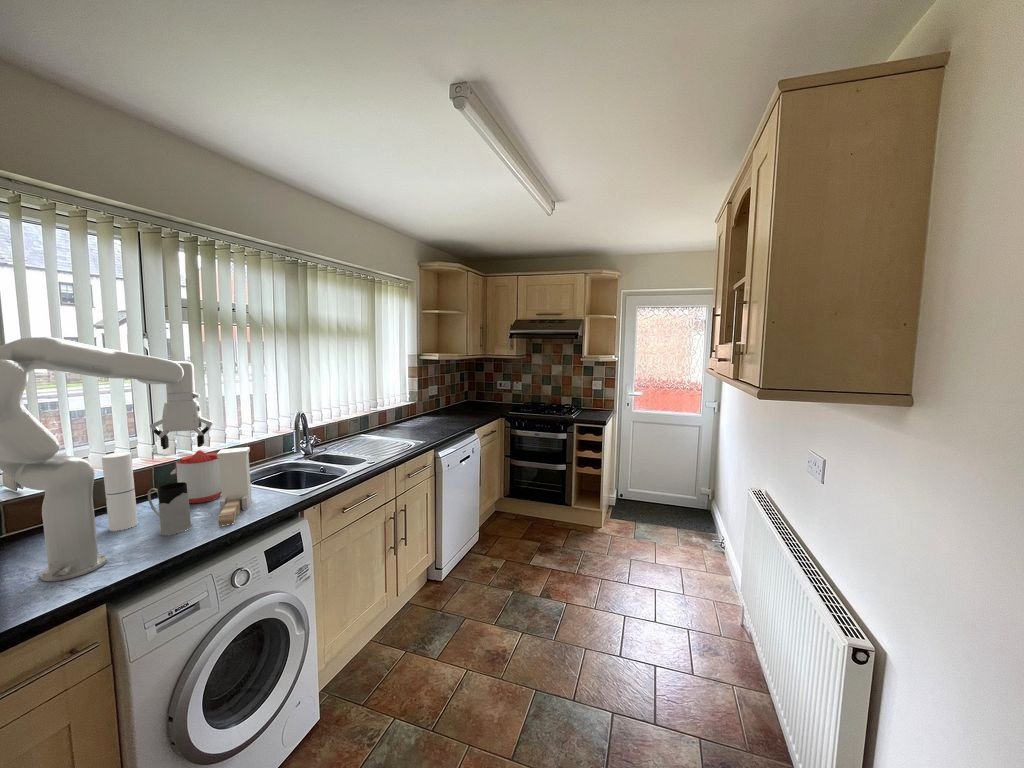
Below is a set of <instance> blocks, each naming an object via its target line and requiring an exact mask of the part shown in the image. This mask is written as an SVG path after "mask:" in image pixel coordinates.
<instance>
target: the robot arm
mask: <svg viewBox="0 0 1024 768" xmlns="http://www.w3.org/2000/svg"><path fill="white" fill-rule="evenodd" d="M34 370H48V371H49V370H50V371H55V372H56V371H57V372H63V373H69V374H77V375H82V376H89V377H96V378H105V379H124V380H125V379H126V380H127V379H130V380H131V379H132V380H137V381H138V382H139V383H142V384H146V385H165V389H166V391H165V392H166V402H164V404H163V409H162V419H160V420H158V421H156V422H153V423H151V424H150V425H149V428H150V429H151V430H152V432H153V433H154V434H155V435H156V436H158V438H160V447H161V448H162V450H166V449H168V448H170V443H169V436H168V434H169V433H170V432H173V433H174V432H189V431H194V432H195V433H196V434H197V436H196V444H197V448H201V447H203V445H204V444H205V435H206V433H207V432H208V431H210V429H211V428H212V425H213V424H214V422H213V421H212V420H209V419H207V418H204V417H202V411H201V407H200V403H199V401H198V400H197V399H199V398H200V397H201V395H200V394H199V393H196V391H195V389H196V388H195V367H194V364H193V363H192V362H191V361H174V360H169V359H166V358H161V357H156V356H152V355H151V356H150V355H147V354H146V355H145V354H139V353H134V352H129V351H128V352H127V351H123V350H119V349H118V350H117V349H111V348H105V347H101V346H97V345H92V344H85V343H82V342H76V341H73V340H69V339H68V340H67V339H63V338H57V337H50V336H49V337H47V336H39V337H23V338H20V339H16V340H13V341H10V342H8V343H5V344H2V345H0V470H1V472H3V473H4V474H5V475H6V476H8V477H9V478H10V479H12V480H13V481H14V482H16V483H17V484H19V485H20V486H22V487H24V488H26V489H30V490H36V491H43V492H44V497H43V500H42V501H43V502H42V504H41V505H42V506H41V517H42V523H43V534H44V541H45V542H44V543H45V551H46V560H47V566H48V567H47V568H45V569H43V571H42V572H40V575H39V577H40V580H42V581H45V582H57V581H64V580H69V579H72V578H76V577H80V576H82V575H87V574H88V573H89V574H90V573H91V572H93V571H95V570H97V569H99V568H101V567H103V566H104V565H105V564H106V563H107V562H108V557H107V555H106V554H102V553H99V548H98V537H97V528H96V527H97V526H96V519H95V518H96V517H95V508H94V501H93V500H94V498H93V489H94V482H95V469H94V467H93V465H92V464H91V463H90V462H89V461H88V460H86V459H84V458H82V457H78V456H73V455H72V456H71V455H57V453H58V452H59V450H60V442H59V440H58V438H57V437H56V436H55V434H54V433H53V432H51V431H50V430H49V429H48V428H47V427H46V426H45V425H44V424H43V423H42V422H41V421H39V419H37V418H36V417H35V416H34V415H33V414H32V413H31V412H30V411H29V409H27V407H26V406H25V404H24V401H23V396H24V395H23V394H24V391H25V389H26V387H27V385H28V383H29V380H30V375H29V372H31V371H34ZM203 424H205V427H204V428H202V426H203ZM160 425H161V428H162V430H160V429H159V427H158V426H160Z"/></svg>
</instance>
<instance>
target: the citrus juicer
mask: <svg viewBox="0 0 1024 768" xmlns="http://www.w3.org/2000/svg"><path fill="white" fill-rule="evenodd" d="M217 453H218V452H205V451H202V450H197V451H196V452H195V453H194V454H191V455H187V456H183V457H181V458H179V462H176V461H175V462H174V464H175V466H174V467H175V468H174V469H173V470H172V471H171V472H170V475H175V476H176V477H177V478H176V479H177V480H176V481H177V482H176V483H178V482H185V483H187V492H188V496H189V503H192V504H200V503H205V502H211V501H214V500H216V499H218V498H220V497H221V496H222V490H221V477H220V463H219V458H217Z"/></svg>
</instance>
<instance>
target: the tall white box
mask: <svg viewBox="0 0 1024 768" xmlns="http://www.w3.org/2000/svg"><path fill="white" fill-rule="evenodd" d="M250 452H251V447H250V446H245V447H235V448H223V449H220V450H218V452H216V453H217V458H219V463H220V477H221V490H222V493H221V499H220V500H219V511H220V513H221V511H222V510H223V508H224V506H225V505H226V503H227V502H228V500H234V499H241V506H242V511H247V510H248V509H249V507H250V505H251V503H252V500H253V499H252V497H253V496H252V486H251V473H250V472H251V471H250V470H251V469H250V454H249V453H250ZM220 513H219V514H220Z"/></svg>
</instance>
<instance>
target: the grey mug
mask: <svg viewBox="0 0 1024 768" xmlns="http://www.w3.org/2000/svg"><path fill="white" fill-rule="evenodd" d="M152 490H153V491H155V492H156V494H157V499H158V503H157V504H158V510H157V509H156V507H155V505H154V504H153V501H152V497H151V493H152V492H151V491H152ZM147 499H148V502H149V506H150V508H151V509H152V511H153V512H154V513H155V514H156V515H157V516H158V517H159V523H160V524H159V525H160V527H159V528H160V529H159V533H160V534H162V535H161V536H169V535H168V534H174V535H176V534H175V533H178V534H180V533H179V532H182V531H184V532H186V531H185V530H187V529H189V528H191V527H192V526H193V523H192V521H191V511H190V504H189V496H188V492H187V483H185V482H171V483H166V484H163V485H160V486H159V487H158V488H155V487H153V488H151V489H149V490H148V491H147ZM193 527H194V526H193ZM193 527H192V528H193ZM192 528H191V529H192ZM189 530H190V529H189ZM187 531H188V530H187ZM182 533H183V532H182ZM160 534H159V535H160Z"/></svg>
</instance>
